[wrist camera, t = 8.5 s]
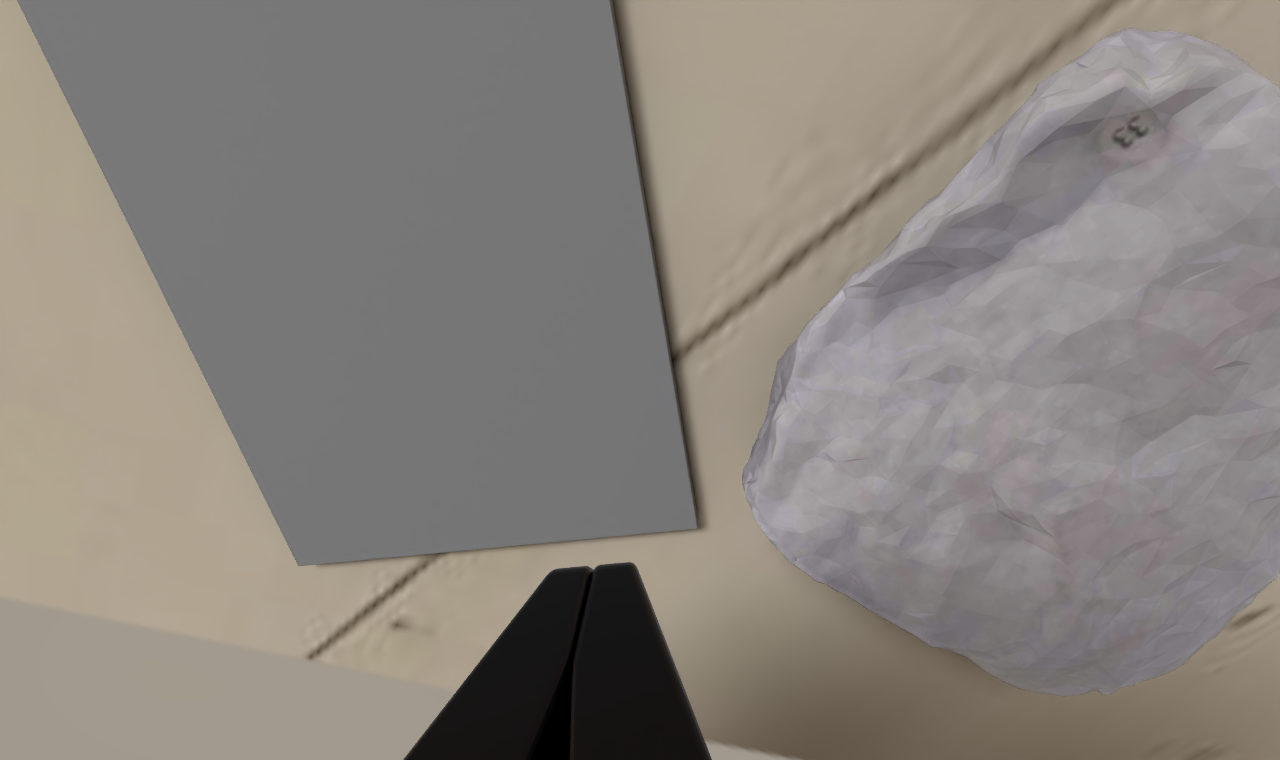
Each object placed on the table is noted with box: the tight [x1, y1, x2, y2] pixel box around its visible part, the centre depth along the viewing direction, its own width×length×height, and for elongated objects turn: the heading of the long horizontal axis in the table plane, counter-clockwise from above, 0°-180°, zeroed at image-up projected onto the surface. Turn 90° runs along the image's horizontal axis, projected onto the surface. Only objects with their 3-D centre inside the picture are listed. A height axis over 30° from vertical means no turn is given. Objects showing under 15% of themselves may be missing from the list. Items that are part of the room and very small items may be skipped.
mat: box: [17, 0, 697, 566], centre depth 17 cm, size 10×14×1 cm
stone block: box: [742, 28, 1280, 696], centre depth 16 cm, size 12×5×10 cm
